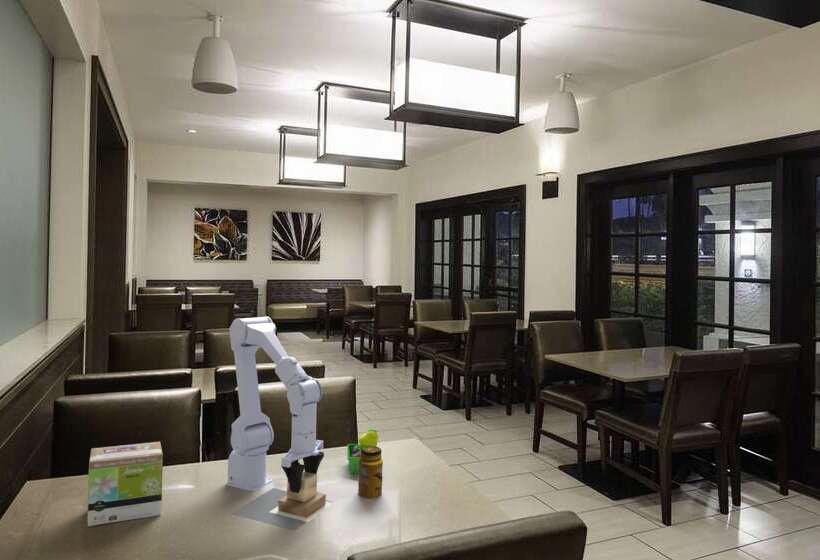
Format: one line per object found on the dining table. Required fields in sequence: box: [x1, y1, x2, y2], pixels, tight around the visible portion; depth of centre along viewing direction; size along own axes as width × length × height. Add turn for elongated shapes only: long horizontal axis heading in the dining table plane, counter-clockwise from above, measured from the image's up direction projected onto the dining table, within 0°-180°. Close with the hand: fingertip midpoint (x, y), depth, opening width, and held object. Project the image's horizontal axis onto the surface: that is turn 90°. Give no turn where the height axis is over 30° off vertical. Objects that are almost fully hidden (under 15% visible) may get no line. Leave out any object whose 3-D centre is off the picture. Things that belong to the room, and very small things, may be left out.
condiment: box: [357, 446, 384, 499], centre depth 142 cm, size 7×8×12 cm
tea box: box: [87, 441, 164, 528], centre depth 129 cm, size 15×10×15 cm
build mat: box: [230, 487, 335, 531], centre depth 133 cm, size 18×16×1 cm
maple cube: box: [286, 470, 318, 502], centre depth 134 cm, size 5×5×5 cm
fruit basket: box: [346, 428, 379, 474], centre depth 161 cm, size 11×9×11 cm
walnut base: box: [278, 491, 327, 518], centre depth 134 cm, size 8×8×2 cm
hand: (302, 486), depth 134 cm, fingers open, 6 cm apart
